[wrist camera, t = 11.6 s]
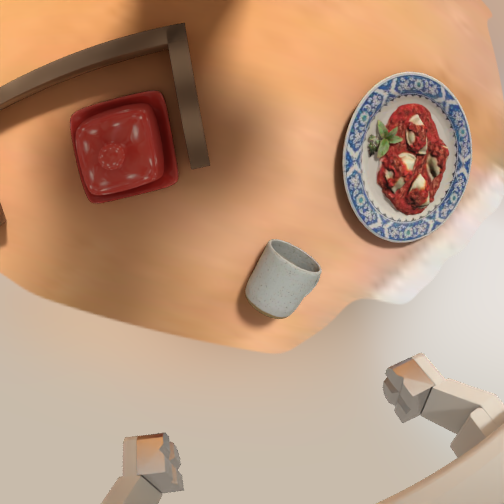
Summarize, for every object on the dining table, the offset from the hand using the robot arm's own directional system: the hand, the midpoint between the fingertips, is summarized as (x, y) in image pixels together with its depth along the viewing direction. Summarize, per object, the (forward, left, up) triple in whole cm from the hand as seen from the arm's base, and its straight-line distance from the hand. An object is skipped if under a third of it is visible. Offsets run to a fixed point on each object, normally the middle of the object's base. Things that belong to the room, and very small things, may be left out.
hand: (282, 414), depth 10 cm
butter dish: (-7, -8, -32) cm, 33 cm away
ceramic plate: (+1, +30, -32) cm, 44 cm away
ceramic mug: (+14, +8, -31) cm, 35 cm away
